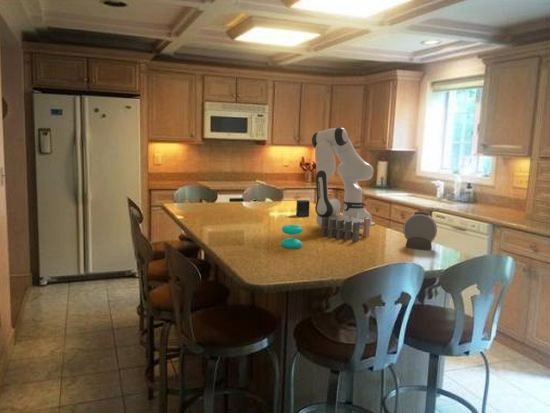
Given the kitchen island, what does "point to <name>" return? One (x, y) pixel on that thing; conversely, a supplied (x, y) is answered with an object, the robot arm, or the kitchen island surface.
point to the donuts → (290, 241)
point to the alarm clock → (420, 231)
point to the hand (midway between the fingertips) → (367, 226)
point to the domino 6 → (366, 227)
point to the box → (302, 208)
